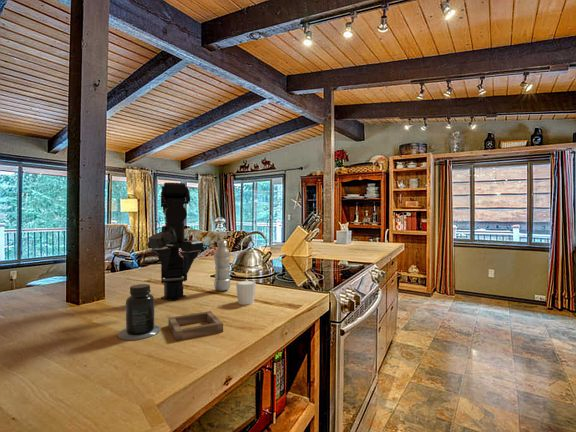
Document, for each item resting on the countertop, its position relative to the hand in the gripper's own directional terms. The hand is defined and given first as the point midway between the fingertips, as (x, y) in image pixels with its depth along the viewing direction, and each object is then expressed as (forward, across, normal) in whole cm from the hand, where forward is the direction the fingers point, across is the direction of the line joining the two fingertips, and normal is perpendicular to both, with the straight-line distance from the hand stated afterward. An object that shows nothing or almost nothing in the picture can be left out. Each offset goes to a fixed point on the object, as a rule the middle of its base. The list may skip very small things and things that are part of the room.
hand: (175, 272), depth 100 cm
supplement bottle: (+13, +4, -16) cm, 21 cm away
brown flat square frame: (+13, +15, -7) cm, 21 cm away
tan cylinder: (+13, +13, +20) cm, 27 cm away
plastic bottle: (+13, -5, +29) cm, 32 cm away
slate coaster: (+13, +4, -16) cm, 21 cm away
